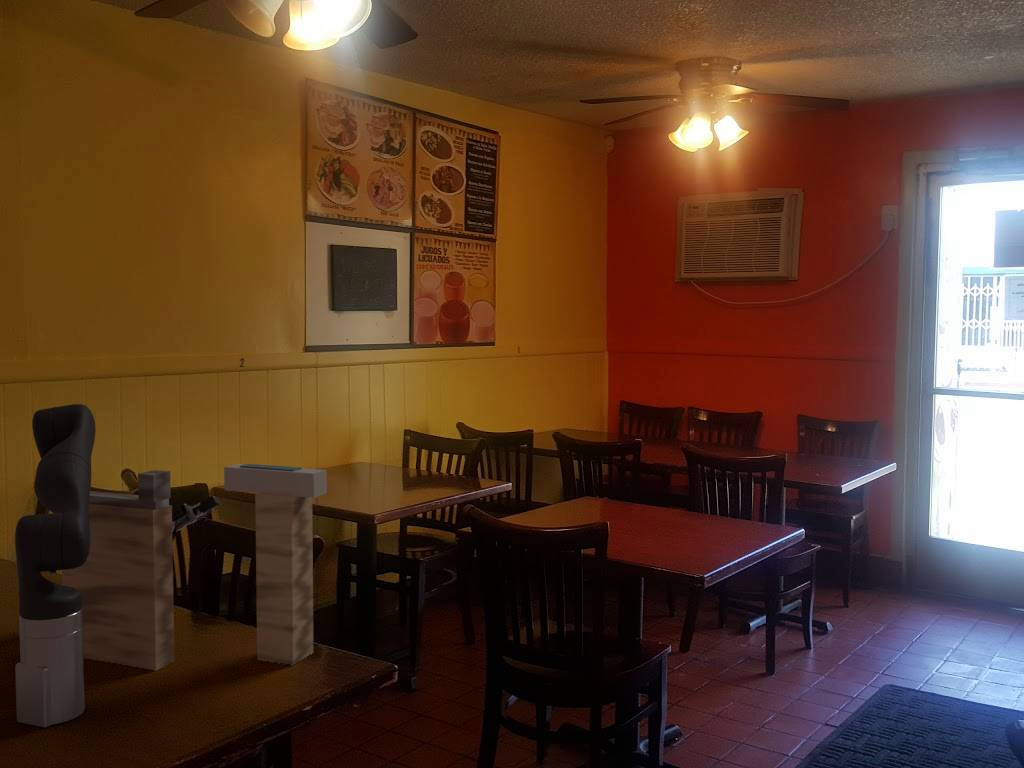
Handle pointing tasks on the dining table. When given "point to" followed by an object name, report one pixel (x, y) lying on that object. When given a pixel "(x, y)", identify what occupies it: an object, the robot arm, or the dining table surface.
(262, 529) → the stand
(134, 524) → the rail post
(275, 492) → the block
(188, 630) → the dining table surface
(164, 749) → the dining table surface
